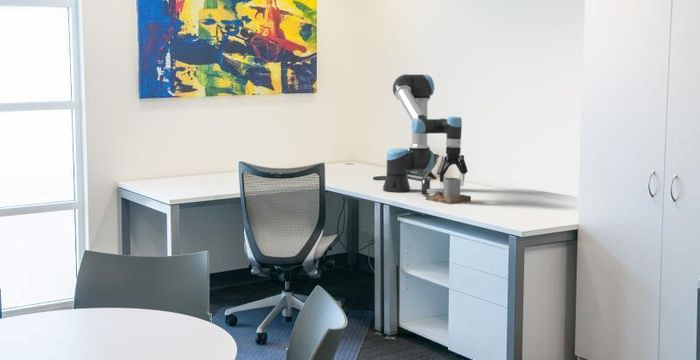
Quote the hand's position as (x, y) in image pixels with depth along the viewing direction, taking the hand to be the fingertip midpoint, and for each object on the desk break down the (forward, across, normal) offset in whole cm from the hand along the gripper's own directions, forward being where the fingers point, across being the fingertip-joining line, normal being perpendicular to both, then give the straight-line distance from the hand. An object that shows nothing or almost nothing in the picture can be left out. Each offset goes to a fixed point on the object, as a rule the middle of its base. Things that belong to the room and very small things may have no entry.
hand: (451, 186), depth 468 cm
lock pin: (+7, 0, +14) cm, 15 cm away
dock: (+7, -1, +1) cm, 7 cm away
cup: (+6, 0, 0) cm, 6 cm away
